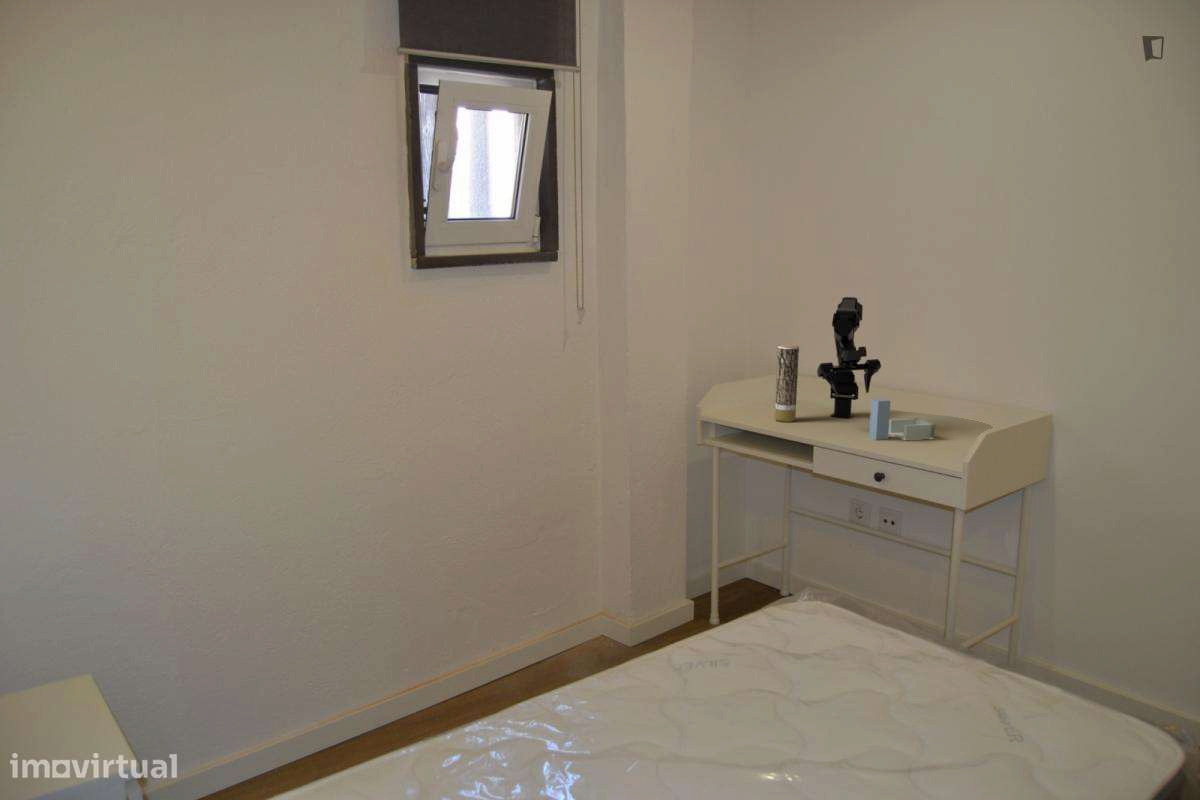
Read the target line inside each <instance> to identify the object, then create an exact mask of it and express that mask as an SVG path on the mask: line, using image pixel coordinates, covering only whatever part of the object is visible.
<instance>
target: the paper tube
mask: <svg viewBox="0 0 1200 800" xmlns="http://www.w3.org/2000/svg"><path fill="white" fill-rule="evenodd" d="M799 354H800V346H799V345H794V344H781V345H780V344H778V345H777V356H776V358H777V359H776V360H777V361H776V381H775V401H774V402H775V405H774V420H775V421H777V420H778V422H780V421H782V423H792V422H794V421H795V420H796V414H797V397H798V396H797V394H798V393H797V391H798V390H797V389H798V376H799V375H798V373H799V356H800V355H799Z"/></svg>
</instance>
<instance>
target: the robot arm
mask: <svg viewBox="0 0 1200 800" xmlns="http://www.w3.org/2000/svg"><path fill="white" fill-rule="evenodd" d="M863 310H864V306H863V304H861V303H860V302H859V301H858V298H857V297H855V296H854V297H852V296H851V297H850V296H845V297H842V299H841V302H839V304H837V309H836V311H835V312H833V315H832V316H833V317H832V320H831V325H832V328H833V337H834V344H835V350H836V358H837V365H834V364H833V362H821V363H820V364H819V365H818V367H817V370H816V374H817V377H818V378H822V379H823V380H826V382H827V383H828V384H829V386H830V396H829V397H830V399H833V400H834V404H833V413H831V414H830V417H836V418H845V419H850V418H852V417H854V415H855V413H852V406H853V405H852V404H853V403H852V401H856V400H859V387H860V386H859V385H858V383H857V381H856V376H855V373H854V372H853V371H864V373H863V380H864V388H865V389H864V390H865V393H866V394H869V393H870V386H871V381H872V376H874V375H875V374H877V373H878V372H879V371H880V369H881V368H882V365H881V364H882V363H881V361H880V360H879V359H878V358H876V359H875V358H874V359H872V358H871V359H866V361H865V362H864V363H860V361H861V360H862V358H865V357H866V358H867V355H868V354H867V352H868V351H867V346H859V347H858V348H856V346H855V341H854V340H855V333H856V332H857V331H858V329H859V328H860V324H861V321H863V312H864V311H863Z"/></svg>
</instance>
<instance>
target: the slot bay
mask: <svg viewBox="0 0 1200 800" xmlns="http://www.w3.org/2000/svg"><path fill="white" fill-rule="evenodd" d="M935 429H936V424H934V423H932V422H929V421H926V420H923V419H921V418H918V417H917V418H916V417H915V418H913V417H912V418H895V419H891V418H889V429H888V435H889V434H890V436H892V437H894V436H895V437H894V438H897V437H898V438H897V439H899V438H900V439H899V440H902V441H904V440H905V441H906V440H910V441H921V439H929V440H931V439H930V438H935ZM905 441H904V442H905Z"/></svg>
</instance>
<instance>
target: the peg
mask: <svg viewBox="0 0 1200 800" xmlns="http://www.w3.org/2000/svg"><path fill="white" fill-rule="evenodd" d="M890 412H891V400H890V399H886V398H884V397H883V398H882V397H881V398H871V402H870V417H869V418H870V419H869V431H868V438H870V437H871V438H870V439H872V438H873V440H875V441H880V440H879V439H887V440H888V439H889V434H888V432H889V420H890V416H891V415H890V414H891V413H890Z"/></svg>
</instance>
